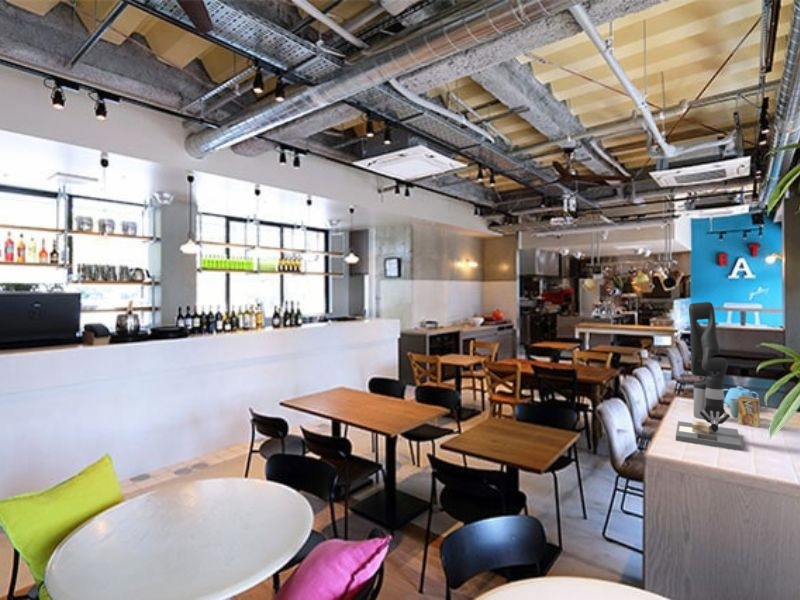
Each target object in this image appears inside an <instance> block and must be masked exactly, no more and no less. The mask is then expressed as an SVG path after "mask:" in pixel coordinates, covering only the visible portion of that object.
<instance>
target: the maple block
mask: <svg viewBox="0 0 800 600" xmlns="http://www.w3.org/2000/svg"><path fill="white" fill-rule="evenodd" d="M691 423H692V432H695V433H702V434H709V426H710V423H709V422H706V421H705V422H704V421H698V420H697V421H696V420H692V422H691Z"/></svg>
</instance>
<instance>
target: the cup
mask: <svg viewBox="0 0 800 600" xmlns="http://www.w3.org/2000/svg"><path fill="white" fill-rule="evenodd" d="M729 411H730V416H731V417H733V418H736V419H738V399H730V407H729Z"/></svg>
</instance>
